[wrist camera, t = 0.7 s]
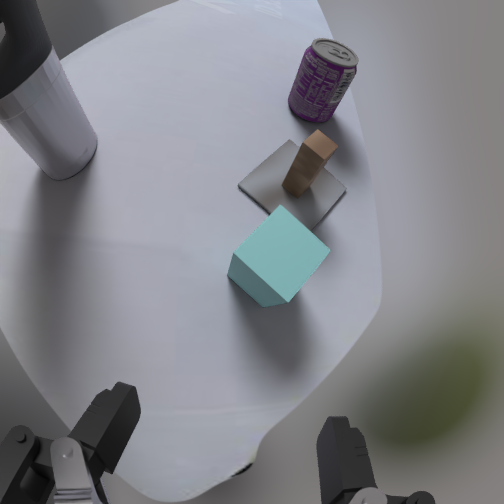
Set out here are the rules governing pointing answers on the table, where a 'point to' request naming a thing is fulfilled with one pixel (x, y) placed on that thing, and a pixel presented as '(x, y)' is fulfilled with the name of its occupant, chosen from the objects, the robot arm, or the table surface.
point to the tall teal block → (276, 259)
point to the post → (297, 180)
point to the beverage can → (322, 79)
